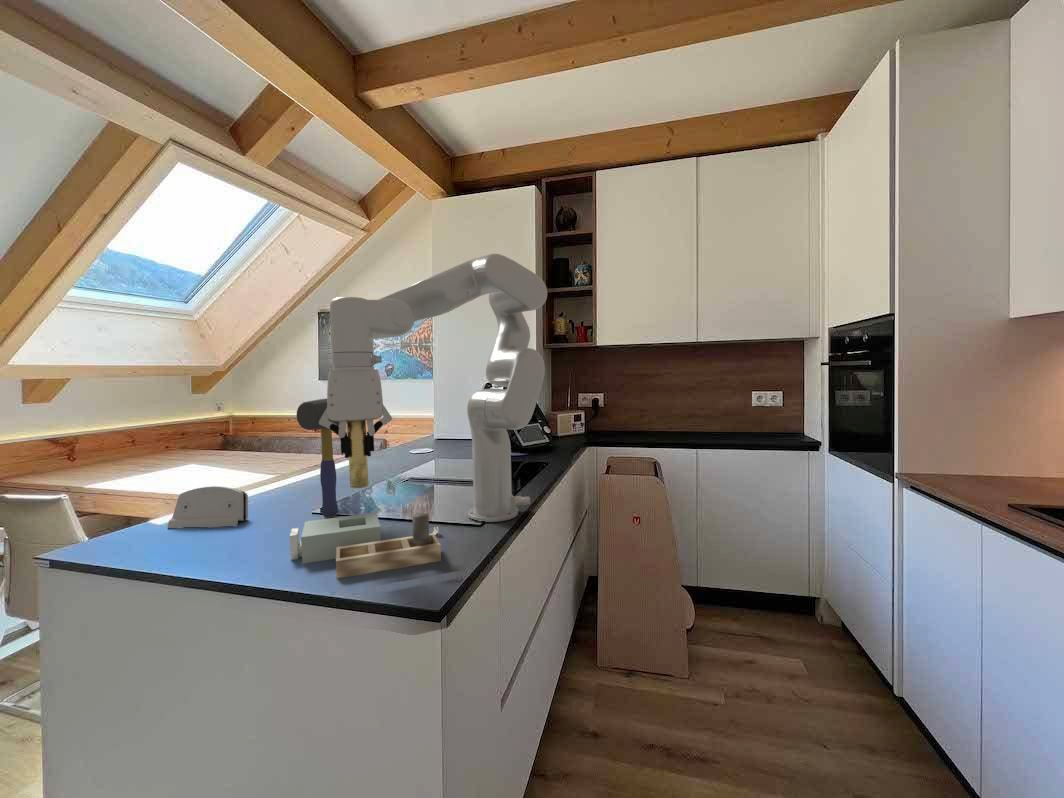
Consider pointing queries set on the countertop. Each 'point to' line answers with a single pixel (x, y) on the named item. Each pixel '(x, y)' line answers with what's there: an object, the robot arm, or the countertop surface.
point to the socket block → (337, 535)
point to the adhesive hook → (436, 531)
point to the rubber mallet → (309, 420)
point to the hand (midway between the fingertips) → (358, 455)
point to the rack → (390, 551)
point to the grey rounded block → (210, 508)
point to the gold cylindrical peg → (357, 454)
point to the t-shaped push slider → (295, 544)
